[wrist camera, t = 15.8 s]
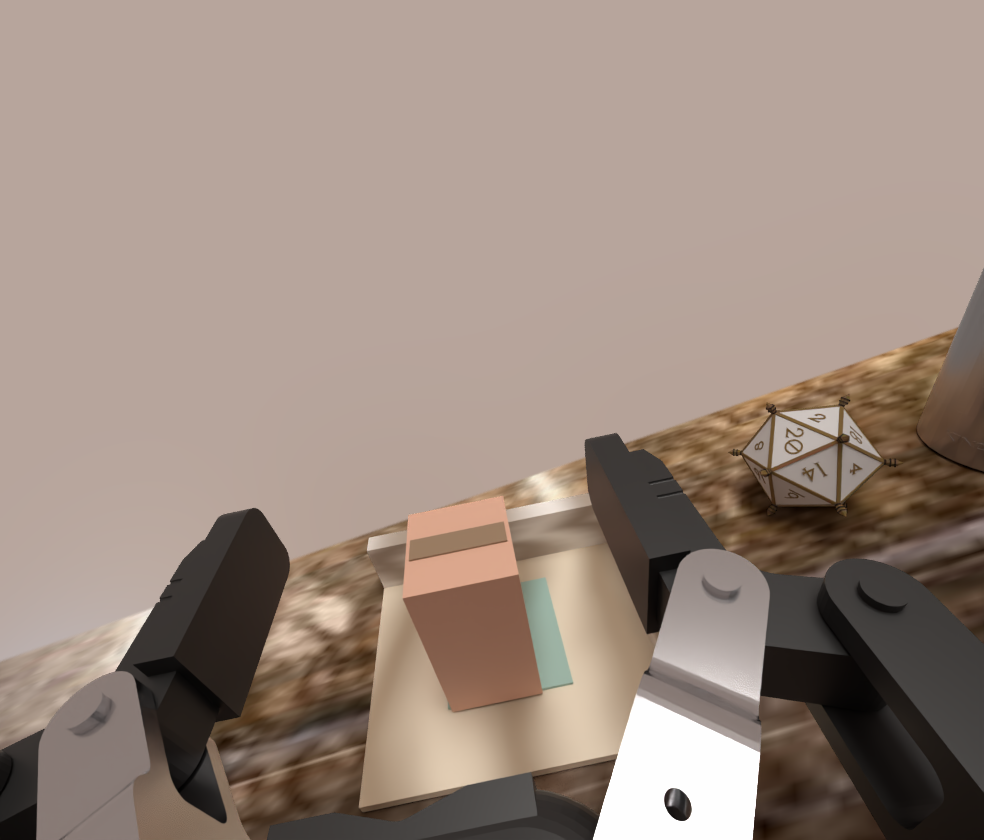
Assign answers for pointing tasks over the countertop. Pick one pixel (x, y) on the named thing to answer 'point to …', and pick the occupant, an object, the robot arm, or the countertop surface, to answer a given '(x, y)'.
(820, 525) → the countertop surface
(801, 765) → the countertop surface
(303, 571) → the countertop surface
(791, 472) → the game die
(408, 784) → the beige flat tray shape
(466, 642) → the terracotta block
